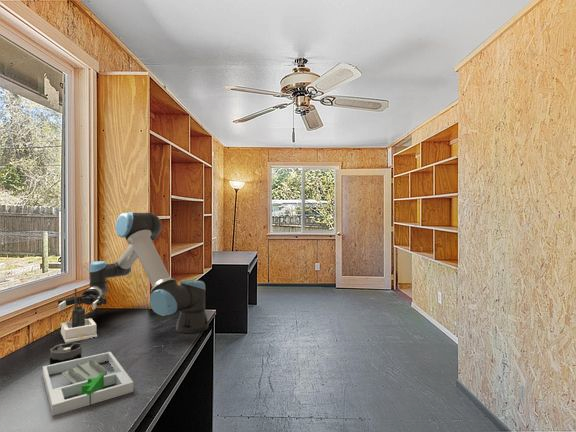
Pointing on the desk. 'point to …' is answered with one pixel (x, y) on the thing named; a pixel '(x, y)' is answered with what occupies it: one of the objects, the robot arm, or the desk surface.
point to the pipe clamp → (93, 385)
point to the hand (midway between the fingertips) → (76, 307)
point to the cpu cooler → (65, 352)
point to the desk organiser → (58, 394)
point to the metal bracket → (85, 372)
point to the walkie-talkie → (78, 314)
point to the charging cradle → (78, 331)
